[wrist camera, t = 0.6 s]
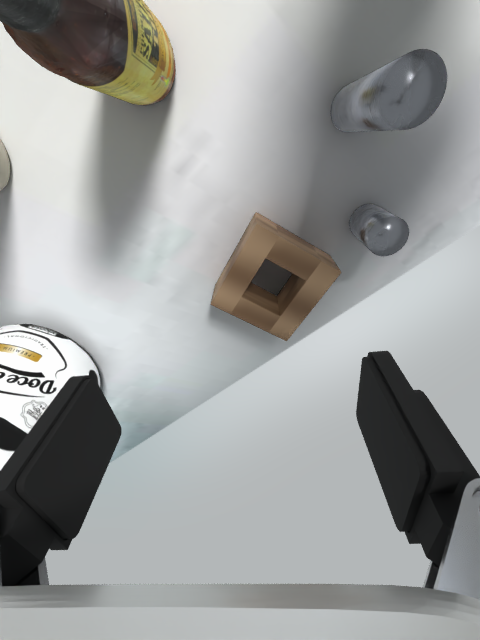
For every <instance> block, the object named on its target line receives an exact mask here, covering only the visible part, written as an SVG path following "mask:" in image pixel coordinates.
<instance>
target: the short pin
mask: <svg viewBox="0 0 480 640" xmlns="http://www.w3.org/2000/svg"><path fill="white" fill-rule="evenodd" d="M349 226H350V230H351V232H352V233H353V234H354V235H355V236H356V237H357V238H358V239H359V240H360V241H361V242H362V243H363V244H364V245H365V246H366V247H367V248H368V249H369V250H370V251H372V252H373V253H374V254H376V255H378V256H389V255H392V254H394V253H396V252H397V251H399V250H400V249H401V248H402V247H403V246H404V245H405V243H406V241H407V239H408V236H409V228H408V225H407V223H406V222H405V221H404V220H403V219H401V218H399V217H397V216H395V215H393V214H392V213H390V212H388V211H386V210H384V209H383V208H381V207H379V206H377V205H375V204H365V205H362V206H360V207H359V208H358V209H356V210H355V211H354V213H353V214H352V216H351V218H350V222H349Z"/></svg>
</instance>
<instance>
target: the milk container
mask: <svg viewBox="0 0 480 640" xmlns="http://www.w3.org/2000/svg"><path fill="white" fill-rule="evenodd" d="M84 375H89V376H91V377H92V379H95V380H96V381H97V383H98V385H99V387H100V377H99V372H98V368H97V366H96V365H95V363H94V361H93V360H92V358H91V357H90V356H89V354H88V353H87V352H86V351H85V350H84V349H83V348H82V347H80V346H79V345H78V344H77V343H76V342H74V341H73V340H71V339H70V338H68V337H66V336H64V335H62V334H60V333H59V332H56V331H54V330H52V329H49V328H45V327H41V326H37V325H32V324H14V325H7V326H3V327H0V470H1V469H2V468H3V466H4V465H5V464H6V462H7V461H8V460H9V458H10V457H11V456H12V454H13V453H14V452H15V450H16V449H17V448H18V446H19V445H20V444H21V442H22V441H23V439H24V438H25V437H26V435H27V434H28V433H29V431H30V430H31V429H32V427H33V426H34V425H35V423H36V422H37V421H38V419H39V418H40V417H41V415H42V414H43V413H44V411H45V410H46V409H47V407H48V406H49V405H50V403H51V402H52V401H53V399H54V398H55V397H56V395H57V394H58V393H59V391H60V390H61V389H62V387H63V386H64V385H65V383H66V382H67V381H68V379H69V378H70V377H73V376H84Z"/></svg>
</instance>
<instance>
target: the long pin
mask: <svg viewBox="0 0 480 640" xmlns="http://www.w3.org/2000/svg"><path fill="white" fill-rule="evenodd" d="M446 84H447V72H446V67H445V64H444V62H443V60H442V58H441V57H440V56H439V55H438V54H437V53H435V52H433V51H431V50H427V49H419V50H415V51H412V52H409V53H407V54H405V55H404V56H402V57H400V58H398V59H396V60H394V61H392V62H390V63H388V64H386V65H385V66H383V67H381V68H379V69H377V70H375V71H373V72H371V73H369V74H367V75H366V76H364V77H362V78H360V79H358V80H356V81H354V82H352V83H350V84H348V85H347V86H345V87H343V88H342V89H341V90H340V91H339V92H338V93H337V95H336V96H335V98H334V100H333V103H332V106H331V118H332V121H333V124H334V125H335V126H336V128H338V129H339V130H341V131H344V132H359V131H384V130H406V129H411V128H414V127H416V126H418V125H420V124H422V123H423V122H425V121H426V120H427V119H428V118H429V117H430V116H431V115H432V114H433V113H434V112H435V110H436V109H437V107H438V106H439V104H440V102H441V100H442V98H443V96H444V93H445V89H446Z"/></svg>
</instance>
